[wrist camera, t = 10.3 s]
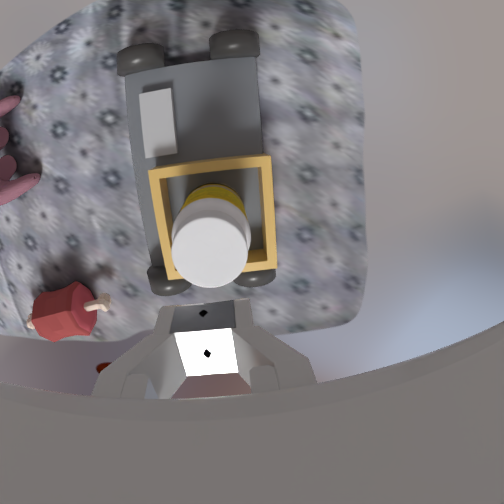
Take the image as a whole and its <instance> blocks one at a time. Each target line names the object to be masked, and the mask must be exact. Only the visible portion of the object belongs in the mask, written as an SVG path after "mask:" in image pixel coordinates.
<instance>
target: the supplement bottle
mask: <svg viewBox="0 0 504 504" xmlns="http://www.w3.org/2000/svg"><path fill="white" fill-rule="evenodd" d="M250 243H251V231H250V226H249V223H248V219H247V216H246V212H245V208H244V204H243V201H242V199H241V197H240V196H239V194H238V193H237V192H236V191H235V190H234V189H233V188H232V187H230V186H228V185H226V184H223V183H219V182H209V183H205V184H202V185H200V186H198V187H197V188H195V189H194V190H193V191H192V192H191V193H190V194H189V195H188V197H187V199H186V200H185V202H184V204H183V206H182V207H181V210H180V211H179V213H178V215H177V217H176V219H175V221H174V224H173V228H172V248H171V254H172V260H173V263H174V266H175V268H176V269H177V271H178V272H179V274H180V275H181V276H182V277H183V278H184V279H186V280H187V281H189V282H190V283H192V284H194V285H197V286H201V287H209V288H213V287H219V286H223V285H225V284H228V283H229V282H231V281H233V280H234V279H235V278H237V277H238V276H239V275H240V273H241V272H242V270H243V269H244V267H245V265H246V262H247V258H248V250H249V247H250Z"/></svg>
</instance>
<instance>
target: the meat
mask: <svg viewBox="0 0 504 504" xmlns="http://www.w3.org/2000/svg"><path fill="white" fill-rule="evenodd" d="M109 304H111V298H110V295H109V294H107V293H102V294H101V295H100V296H99V298H98V299H97V300H95V299H94V297H93V295H92V293H91V291H90V290H89V289H88V288H87V287H85V286H84V285H82V284H81V283H79V282H77V281H75V282H73V283H72V284H70V285H68V286H67V287H65V288H62V289H59V290H56V291H53V292H42V293H41V294H40V295H39V296H38V297H37V298H36V299H35V300H34V303H33V311H32V313H31V314H30V315H28V319H27V326H28V328H31V329H34V328H35V329H36V330H37V332H38V334H39V335H40V336H42V337H44V338H46V339H48V340H51V341H53V342H56V341H58V340H60V339H62V338H64V337H69V336H74V335H86V336H89V335H90V333H91V331H92V329H93V327H94V326H95V324H96V321H97V309H100V308H101V309H102V310H103V311H105V312H106V311H107V310H109V309H110V305H109Z"/></svg>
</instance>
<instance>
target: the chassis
mask: <svg viewBox="0 0 504 504" xmlns="http://www.w3.org/2000/svg"><path fill="white" fill-rule="evenodd" d="M209 47H210V59H211V60H208V61H200V62H192V63H185V64H179V65H173V66H167V67H165V65H164V47H163V46H162V45H159V44H154V43H145V44H138V45H133V46H130V47H127V48H124V49H122V50H121V51H119V52H118V53H117V74H118V75H119V76H123V77H125V90H126V104H127V116H128V126H129V135H130V144H131V152H132V160H133V167H134V174H135V180H136V187H137V193H138V199H139V204H140V210H141V215H142V221H143V226H144V231H145V236H146V240H147V245H148V250H149V254H150V258H151V263H152V266H151V267H149V269H148V270H147V275H148V279H149V282H150V286H151V290H152V292H153V293H154V294H156V295H160V296H171V295H176V294H179V293H182V292H184V291H185V290H187V289H188V288H189V287H190V286H191V285H192V283H190V282H189V281H187V280H186V279H184V278H183V277H182V276H181V275H180V274H179V272H178V271H177V269H176V268H175V266H174V263H173V260H172V254H171V248H172V228H173V224H174V221H175V219H176V217H177V215H178V213H179V211H180V210H181V207H182V206H183V204H184V202H185V200H186V199H187V197H188V195H189V194H190V193H191V192H192V191H193V190H194V189H195V188H197V187H198V186H200V185H202V184H205V183H209V182H219V183H223V184H226V185H228V186H230V187H232V188H233V189H234V190H235V191H236V192H237V193H238V194H239V196H240V197H241V199H242V201H243V204H244V208H245V212H246V216H247V219H248V223H249V226H250V231H251V243H250V247H249V250H248V258H247V262H246V265H245V267H244V269H243V270H242V272H241V273H240V275H239V276H238V277H237V278H235V279H234V280H233V281H234V282H235V283H236V284H238V285H240V286H244V287H258V286H263V285H266V284H268V283H270V282H272V281H273V280H274V279H275V277H276V271H275V268H277V252H276V232H275V214H274V197H273V181H272V166H271V156H270V155H268V154H265V153H263V145H262V132H261V120H260V107H259V95H258V84H257V73H256V62H255V58H256V57H258V56H259V55H260V46H259V36H258V34H257V33H256V32H254V31H250V30H240V29H238V30H227V31H222V32H219V33H216V34H214V35H212V36H211V37H210V38H209Z"/></svg>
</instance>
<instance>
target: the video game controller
mask: <svg viewBox="0 0 504 504" xmlns="http://www.w3.org/2000/svg"><path fill="white" fill-rule="evenodd" d="M20 100H21V98H20V97H19V96H16V95H15V96H9V97H6V98H4V99H2V100H0V118H1V117H2V116H4V115H5V114H7V113H8V112H10V111H11V110H12V109H13V108H15V107H16V106H17V105H18V104H19V103H20ZM8 139H9V133H8V131H7V129H6V128H4V127H0V150H1V149H2V148H3V147H4V146H5V145H6V144H7V142H8ZM15 171H16V161H15V159H14V158H13V157H12V156H10V155H5V156H3V157H1V158H0V205H3V204H6V203H8V202H10V201H12V200H14V199H16V198H17V197H19V196H20V195H22V194H23V193H25V192H26V191H28V190H29V189H31V188H32V187H34V186H35V185H36V184H37V183H38V182H39V180H40V174H38V173H32V174H27V175H24V176H22V177H20V178H17V179H15V180H11V181H10V178H11V177H12V175H13V174H14V172H15Z"/></svg>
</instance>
